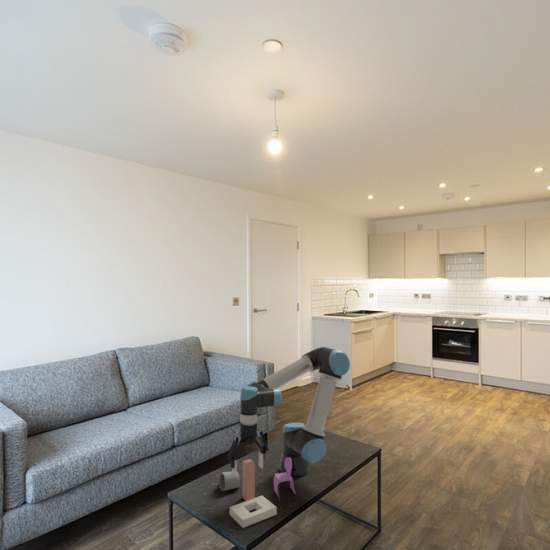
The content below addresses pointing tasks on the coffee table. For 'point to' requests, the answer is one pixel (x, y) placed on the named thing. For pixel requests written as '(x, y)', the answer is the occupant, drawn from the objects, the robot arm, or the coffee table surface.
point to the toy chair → (284, 476)
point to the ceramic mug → (229, 481)
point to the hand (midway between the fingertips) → (247, 471)
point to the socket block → (246, 518)
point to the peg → (248, 479)
